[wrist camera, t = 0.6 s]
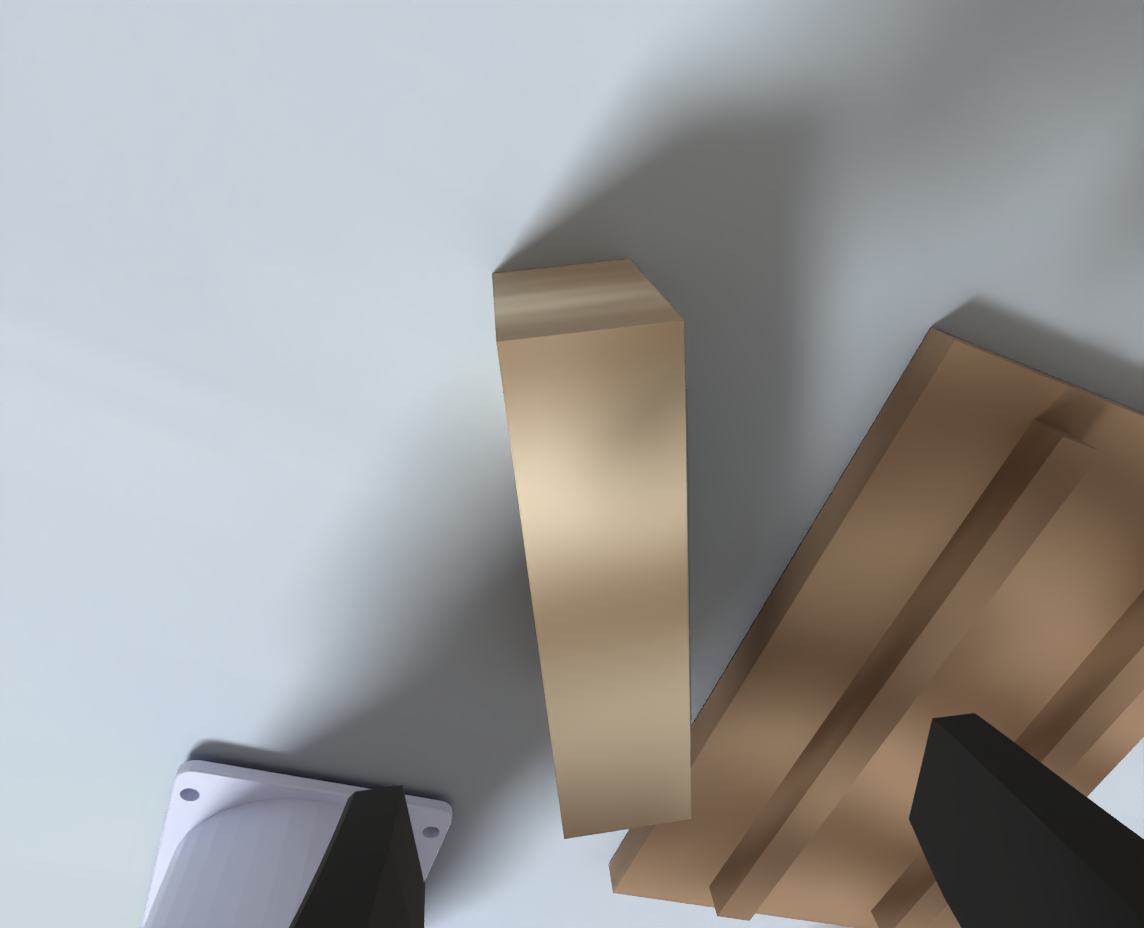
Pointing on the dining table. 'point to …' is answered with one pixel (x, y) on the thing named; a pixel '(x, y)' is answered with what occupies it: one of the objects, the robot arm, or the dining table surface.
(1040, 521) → the picture ledge
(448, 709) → the dining table surface
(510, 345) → the beige long rectangular block
